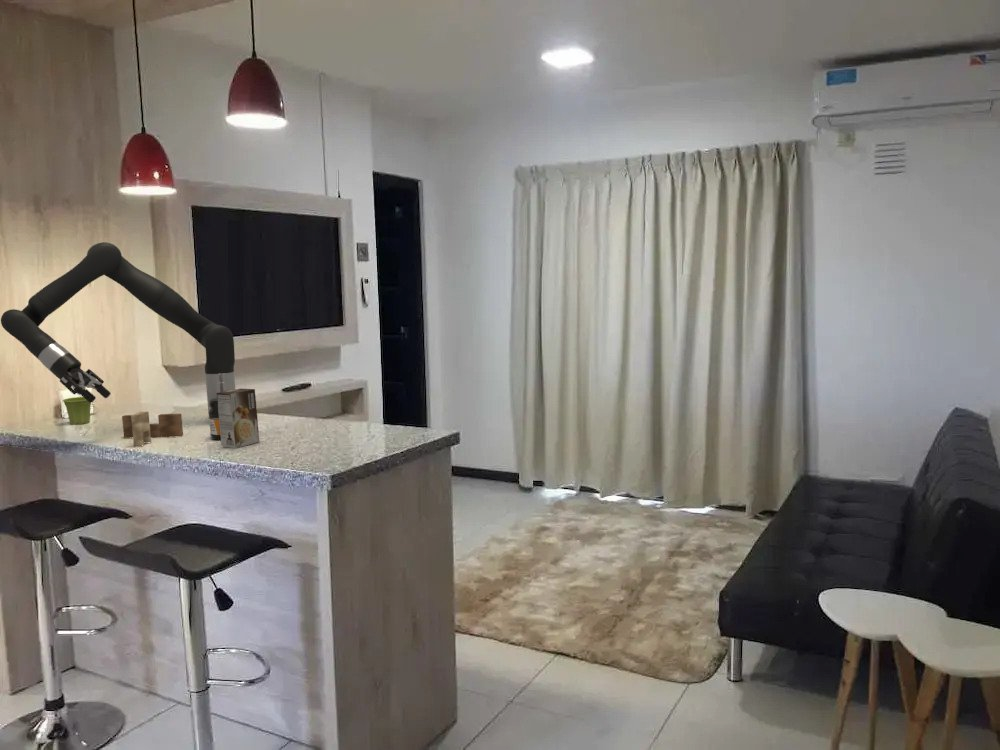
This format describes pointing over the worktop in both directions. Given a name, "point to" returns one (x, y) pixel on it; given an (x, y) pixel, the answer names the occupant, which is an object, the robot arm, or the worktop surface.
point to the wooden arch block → (141, 428)
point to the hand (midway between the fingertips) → (101, 398)
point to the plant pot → (78, 410)
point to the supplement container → (214, 419)
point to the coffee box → (238, 417)
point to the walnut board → (158, 426)
